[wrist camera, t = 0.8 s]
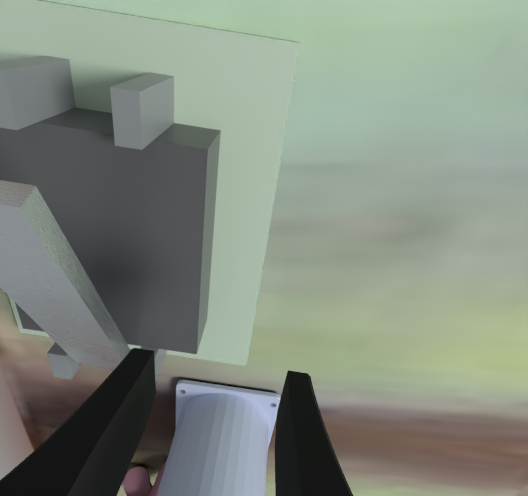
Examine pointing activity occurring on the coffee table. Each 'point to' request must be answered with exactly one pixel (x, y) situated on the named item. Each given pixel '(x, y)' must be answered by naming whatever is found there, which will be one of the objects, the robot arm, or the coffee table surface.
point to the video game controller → (142, 482)
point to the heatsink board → (203, 98)
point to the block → (53, 280)
